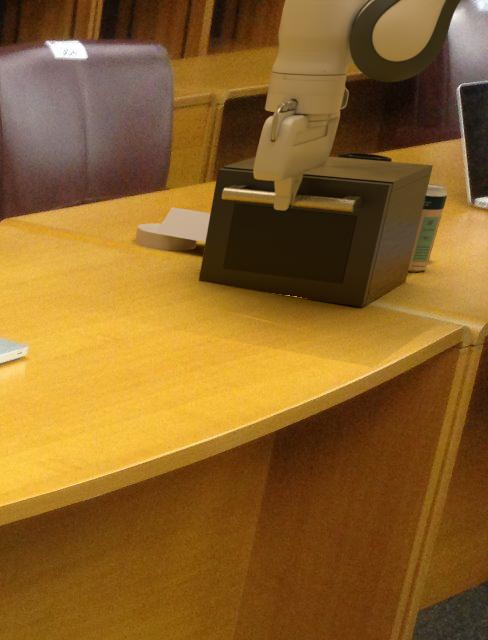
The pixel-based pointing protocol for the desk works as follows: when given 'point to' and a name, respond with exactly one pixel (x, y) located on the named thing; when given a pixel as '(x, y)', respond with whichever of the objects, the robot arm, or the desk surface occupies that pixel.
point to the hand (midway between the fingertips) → (283, 209)
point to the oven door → (295, 237)
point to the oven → (399, 214)
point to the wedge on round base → (175, 230)
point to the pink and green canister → (428, 227)
